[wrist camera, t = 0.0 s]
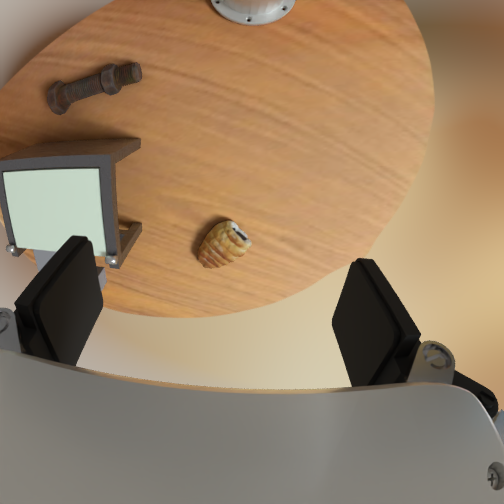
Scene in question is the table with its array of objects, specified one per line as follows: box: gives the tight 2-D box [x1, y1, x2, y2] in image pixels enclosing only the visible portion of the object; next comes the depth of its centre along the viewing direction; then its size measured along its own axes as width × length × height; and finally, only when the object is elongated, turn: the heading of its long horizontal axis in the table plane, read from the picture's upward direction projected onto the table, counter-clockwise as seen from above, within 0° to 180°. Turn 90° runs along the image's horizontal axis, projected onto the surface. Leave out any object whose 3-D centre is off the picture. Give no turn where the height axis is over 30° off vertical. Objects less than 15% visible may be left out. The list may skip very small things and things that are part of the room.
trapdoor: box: [3, 167, 108, 291], centre depth 39 cm, size 21×17×6 cm
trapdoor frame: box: [0, 139, 142, 269], centre depth 39 cm, size 16×21×13 cm
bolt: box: [47, 62, 142, 115], centre depth 34 cm, size 6×5×15 cm
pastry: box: [198, 220, 251, 268], centre depth 50 cm, size 9×7×4 cm
